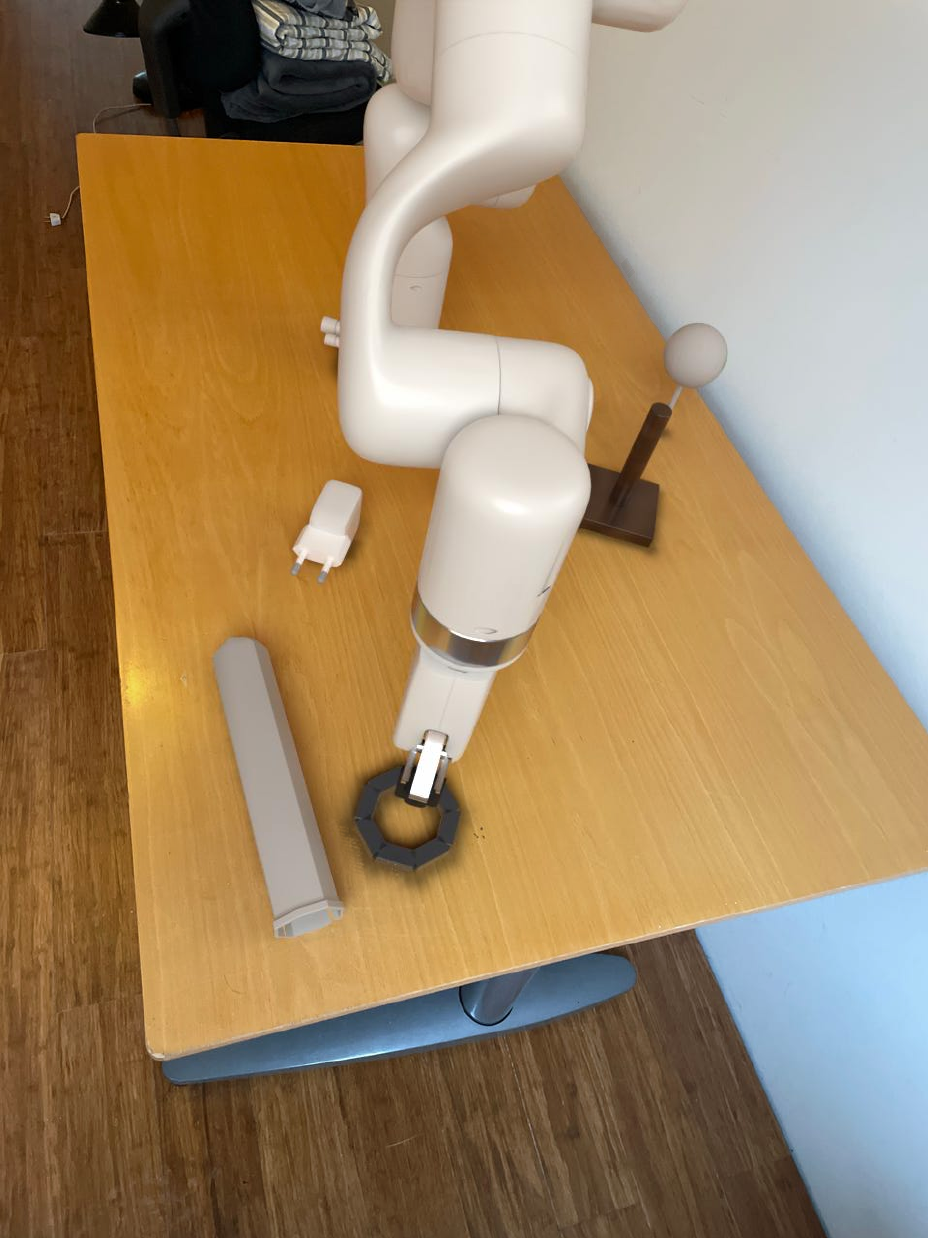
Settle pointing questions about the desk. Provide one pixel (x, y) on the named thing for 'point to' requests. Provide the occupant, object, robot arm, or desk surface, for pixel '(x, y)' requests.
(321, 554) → the power adapter
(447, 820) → the ring
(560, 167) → the robot arm
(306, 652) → the desk surface
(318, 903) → the tube
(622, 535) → the post
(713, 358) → the lollipop
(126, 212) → the desk surface
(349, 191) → the desk surface
